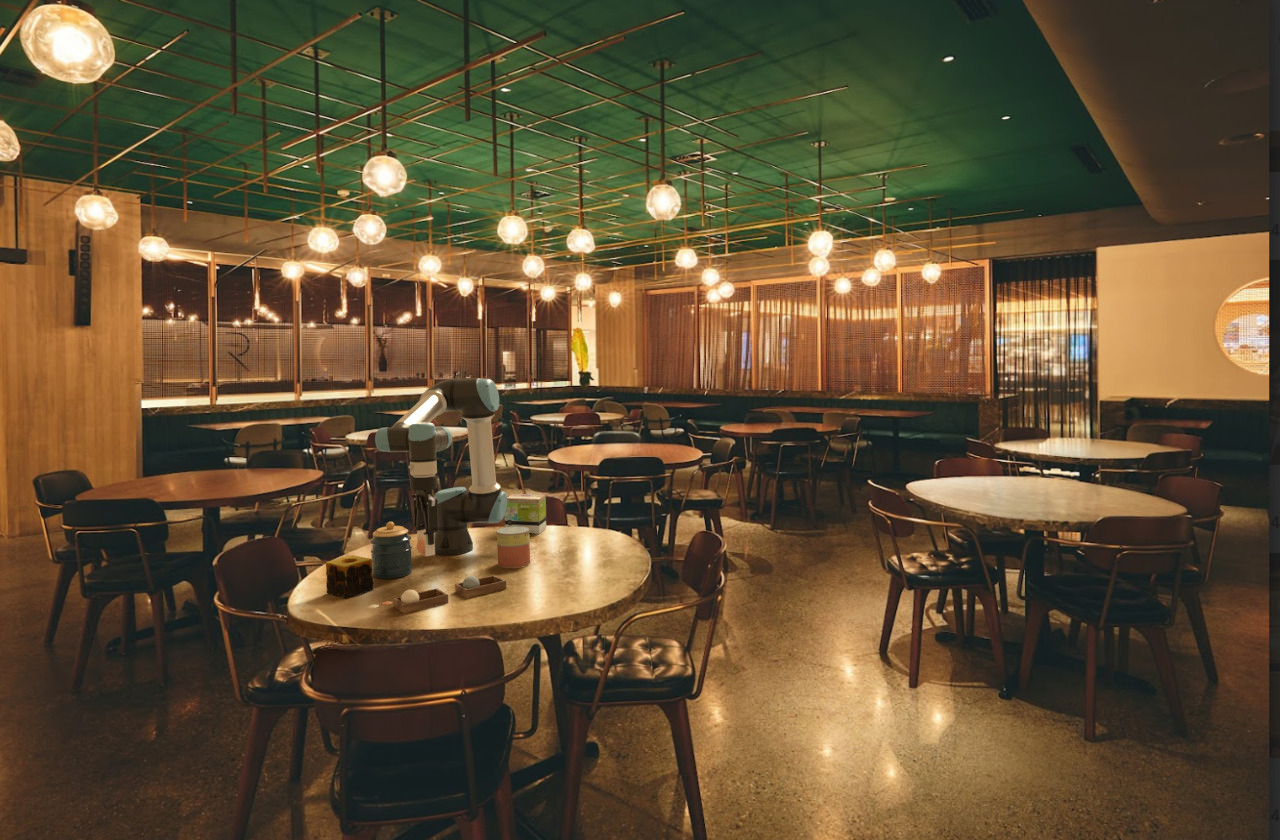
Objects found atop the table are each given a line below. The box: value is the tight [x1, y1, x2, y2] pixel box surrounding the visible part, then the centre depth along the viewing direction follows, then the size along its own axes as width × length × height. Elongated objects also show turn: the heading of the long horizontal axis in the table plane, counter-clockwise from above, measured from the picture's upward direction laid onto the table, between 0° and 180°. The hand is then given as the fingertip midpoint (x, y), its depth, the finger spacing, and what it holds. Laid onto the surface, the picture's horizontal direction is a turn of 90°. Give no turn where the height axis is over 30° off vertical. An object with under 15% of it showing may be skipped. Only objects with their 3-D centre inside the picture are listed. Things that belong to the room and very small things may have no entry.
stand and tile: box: [367, 601, 393, 609], centre depth 214 cm, size 14×24×1 cm, turn 130°
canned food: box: [496, 526, 531, 569], centre depth 248 cm, size 11×11×12 cm
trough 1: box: [392, 588, 449, 614], centre depth 206 cm, size 8×13×3 cm, turn 130°
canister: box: [369, 521, 413, 580], centre depth 239 cm, size 13×13×18 cm
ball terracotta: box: [416, 538, 425, 556], centre depth 211 cm, size 5×5×5 cm
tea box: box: [504, 493, 547, 535], centre depth 296 cm, size 15×10×15 cm
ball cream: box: [400, 589, 419, 604], centre depth 204 cm, size 5×5×5 cm
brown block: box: [325, 554, 375, 600], centre depth 220 cm, size 10×10×10 cm
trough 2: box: [454, 574, 507, 599], centre depth 218 cm, size 8×13×3 cm, turn 130°
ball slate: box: [462, 575, 480, 589], centre depth 216 cm, size 5×5×5 cm
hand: (426, 553), depth 211 cm, fingers closed on ball terracotta, 5 cm apart
